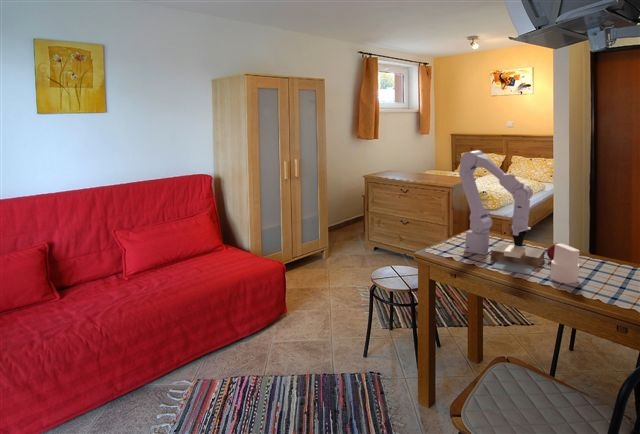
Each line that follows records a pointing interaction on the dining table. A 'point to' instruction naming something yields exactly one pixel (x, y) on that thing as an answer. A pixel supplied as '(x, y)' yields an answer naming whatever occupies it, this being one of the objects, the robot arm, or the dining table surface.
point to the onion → (551, 251)
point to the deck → (528, 258)
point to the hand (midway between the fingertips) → (518, 248)
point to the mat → (513, 267)
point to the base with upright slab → (565, 264)
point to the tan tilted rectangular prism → (514, 251)
